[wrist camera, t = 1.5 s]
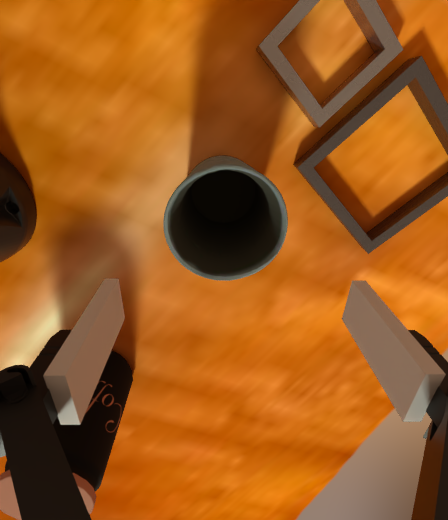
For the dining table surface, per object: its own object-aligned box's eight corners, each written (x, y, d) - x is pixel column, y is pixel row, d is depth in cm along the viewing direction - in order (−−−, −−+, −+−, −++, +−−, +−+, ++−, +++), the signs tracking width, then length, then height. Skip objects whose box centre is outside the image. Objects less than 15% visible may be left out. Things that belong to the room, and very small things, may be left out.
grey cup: (167, 211, 36) (146, 255, 25) (200, 128, 32) (192, 140, 21) (242, 243, 38) (252, 296, 27) (282, 169, 34) (312, 198, 23)
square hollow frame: (293, 164, 34) (297, 167, 32) (409, 58, 29) (421, 55, 27) (361, 246, 39) (368, 253, 37) (469, 167, 34) (483, 170, 32)
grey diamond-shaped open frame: (256, 49, 29) (258, 45, 27) (337, -42, 26) (346, -53, 24) (313, 126, 32) (319, 127, 30) (391, 53, 29) (403, 49, 27)
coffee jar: (148, 369, 48) (114, 501, 32) (107, 401, 51) (58, 534, 35) (93, 332, 44) (23, 461, 28) (53, 368, 47) (-31, 502, 31)
